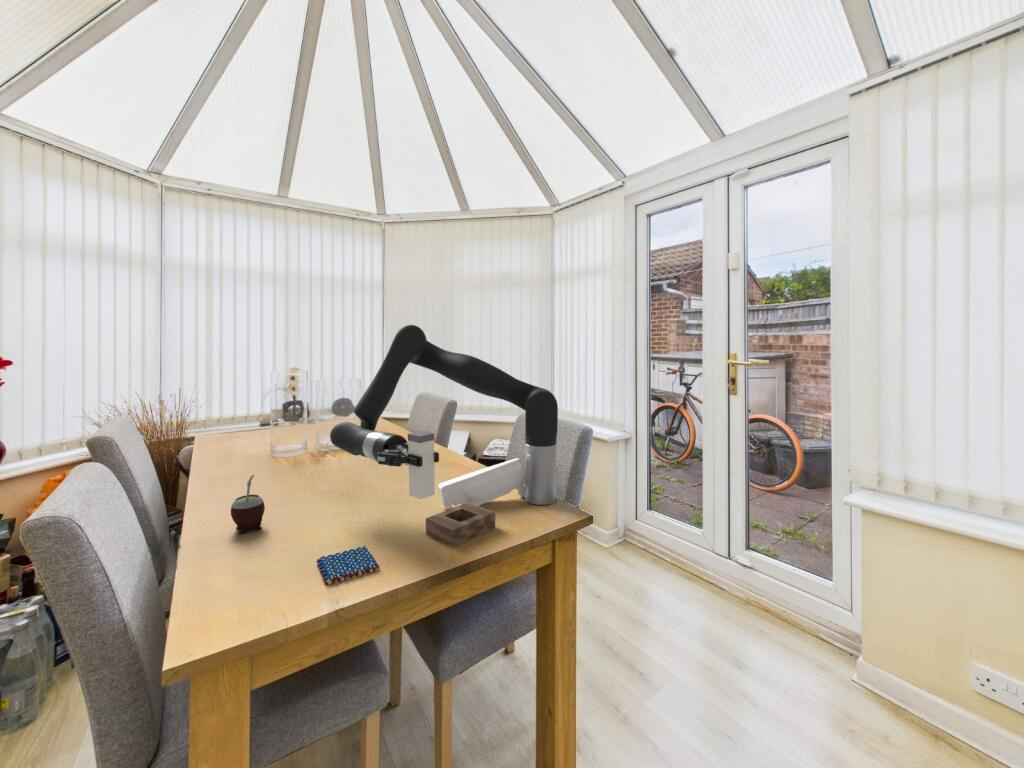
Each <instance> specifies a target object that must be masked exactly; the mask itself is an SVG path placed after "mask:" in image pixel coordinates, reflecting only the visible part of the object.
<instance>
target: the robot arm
mask: <svg viewBox="0 0 1024 768" xmlns="http://www.w3.org/2000/svg"><path fill="white" fill-rule="evenodd" d="M393 337H394V338H393V340H392V342H391V344H390V346H389V349H388V351H387V353H386V356H385V357H384V359H383V362H382V363H381V365H380V367H379V369H378V371H377V372H376V374H375V375H374V377H373V379H372V380H371V382H370V384H369V386H368V387H367V389H365V391H364V393H363V394H362V397H361V398H360V399H359V401H358V402H357V404H356V405H355V407H354V409H353V413H354V415H355V416H356V417H357V418H358V419H359V421H360V425H357V424H355V423H353V422H350V421H342V422H339V423H337V424H336V425H334V426H333V427H332V429H331V430H330V434H329V439H330V442H331V444H332V445H333V446H335V447H336V448H339V449H340V450H342V451H343V452H347V453H348V454H350V455H353V456H356V457H357V456H361V457H364V458H366V459H367V458H368V459H369V460H371V461H372V462H373V461H374V462H376V463H378V465H383V466H388V467H399V468H400V467H401V466H403V465H405V466H409V465H413V466H417V467H421V466H422V465H423V462H422V457H421V456H417V455H413V454H410V453H408V440H407V439H406V438H405V437H404V436H402V435H400V434H396V433H391V432H387V431H379V430H378V431H377V430H376V427H377V424H378V421H379V420H380V418H381V416H382V414H383V413H384V411H385V410H386V408H387V406H389V403H390V401H391V400H392V397H393V395H394V393H395V390H396V388H397V386H398V383H399V381H400V378H401V377H402V375H403V373H404V371H405V369H406V368H407V366H408V365H410V364H413V365H416V366H419V367H422V368H425V369H427V370H431V371H433V372H436V373H438V374H440V375H442V376H443V377H444V378H447V379H449V380H450V381H452V382H455V383H457V384H459V385H461V386H462V387H465V388H467V389H470V390H472V391H474V392H475V393H479V394H481V395H483V396H487V397H490V398H495V399H499V400H501V401H502V400H503V401H506V402H509V403H511V404H513V405H515V406H516V407H518V408H520V409H522V410H523V411H525V418H524V419H525V422H524V423H525V427H524V428H525V429H524V430H525V431H524V439H525V440H524V444H525V447H524V478H525V480H524V486H525V498H524V501H525V502H527V503H529V504H531V505H535V504H536V505H537V506H538V505H539V506H548V505H552V504H554V503H555V502H556V500H557V498H558V466H557V438H558V436H557V435H558V425H559V424H558V422H559V421H558V417H559V413H558V412H559V407H558V400H557V399H556V396H555V395H554V394H553V392H551V391H550V390H549V389H546V388H542V387H540V386H538V385H537V386H536V385H534V384H530V383H527V382H525V381H522V380H519V379H517V378H516V377H514V376H512V375H510V374H508V373H507V372H505V371H503V370H502V369H500V368H498V367H497V366H494V365H493V364H490V363H489V362H487V361H485V360H483V359H480V358H478V357H476V356H473V355H469V354H464V353H458V352H453V351H448V350H446V349H443V348H441V347H439V346H437V345H436V344H434V343H432V342H430V341H428V339H427V336H426V334H425V332H424V330H423V329H422V328H420V327H419V326H417V325H414V324H407V325H403V326H402V327H400V328H399V329H398V330H397V331H396V333H395V334H394V336H393ZM439 461H440V454H439V452H438V451H434V464H435V463H439Z"/></svg>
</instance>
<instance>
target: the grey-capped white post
mask: <svg viewBox="0 0 1024 768" xmlns="http://www.w3.org/2000/svg"><path fill="white" fill-rule="evenodd" d="M407 442H408V453H410V454H413V455H417V456H421V457H422V462H423V465H422V466H421V467H417V466H413V465H408V489H409V492H408V493H409V494H408V495H409V496H411V497H413V498H415V499H418V500H422V499H426V498H429V497H432V496H435V494H436V490H435V488H436V486H435V484H436V483H435V480H436V479H435V477H436V476H435V462H434V452H435V433H434V432H430V431H424V430H422V431H417V432H409V433H407Z"/></svg>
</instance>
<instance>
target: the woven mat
mask: <svg viewBox="0 0 1024 768" xmlns="http://www.w3.org/2000/svg"><path fill="white" fill-rule="evenodd" d="M316 566H317V568H318V569H319V573H320V574H321V577H322V579H323V581H324V582H323V583H324V584H325V585H327V586H330V585H332V584H333V583H335V584H336V583H339V581H340V582H344V581H345V579H346V580H350V578H351V577H352V579H356V578H357V576H358V577H361V576H362V575H363V574H364V575H367V574H368V573H373V572H374V571H375V572H377V571H379V568H380V565H379V563H378V562H377V560H376V559H375V557H374V556H373V555H372V554H371V552H370V551H369V550H368V547H366V545H363V546H358V547H356V548H354V549H353V548H350V549H348V550H344V551H340V552H336V553H333V554H328V555H322V556H321V557H319V558H317V559H316ZM367 572H368V573H367Z"/></svg>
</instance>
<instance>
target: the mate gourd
mask: <svg viewBox="0 0 1024 768" xmlns="http://www.w3.org/2000/svg"><path fill="white" fill-rule="evenodd" d="M254 477H255V475H254V474H252V475H251V476H250V477H249V478H248V481H247V483H246V484H247V487H246V494H245V495H242V496H239V497H237V498H235V499H234V501H233V502H232V504H231V506H230V507H231V509H230V516H231V519H232V521H233V523H234V524H235V525H236V527H235V530H236V529H240V530H239V533H238V534H243V533H244V534H246V533H247V532H249V531H261V530H262V529H263V527H262V522H263V517H264V514H265V510H266V509H265V502H264V499H263V498H262V497H261V496H260V495H258V494H250V490H251V485H252V480H253V479H254ZM248 530H249V531H248ZM246 531H247V532H246ZM245 532H246V533H245ZM244 534H243V535H244Z"/></svg>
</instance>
